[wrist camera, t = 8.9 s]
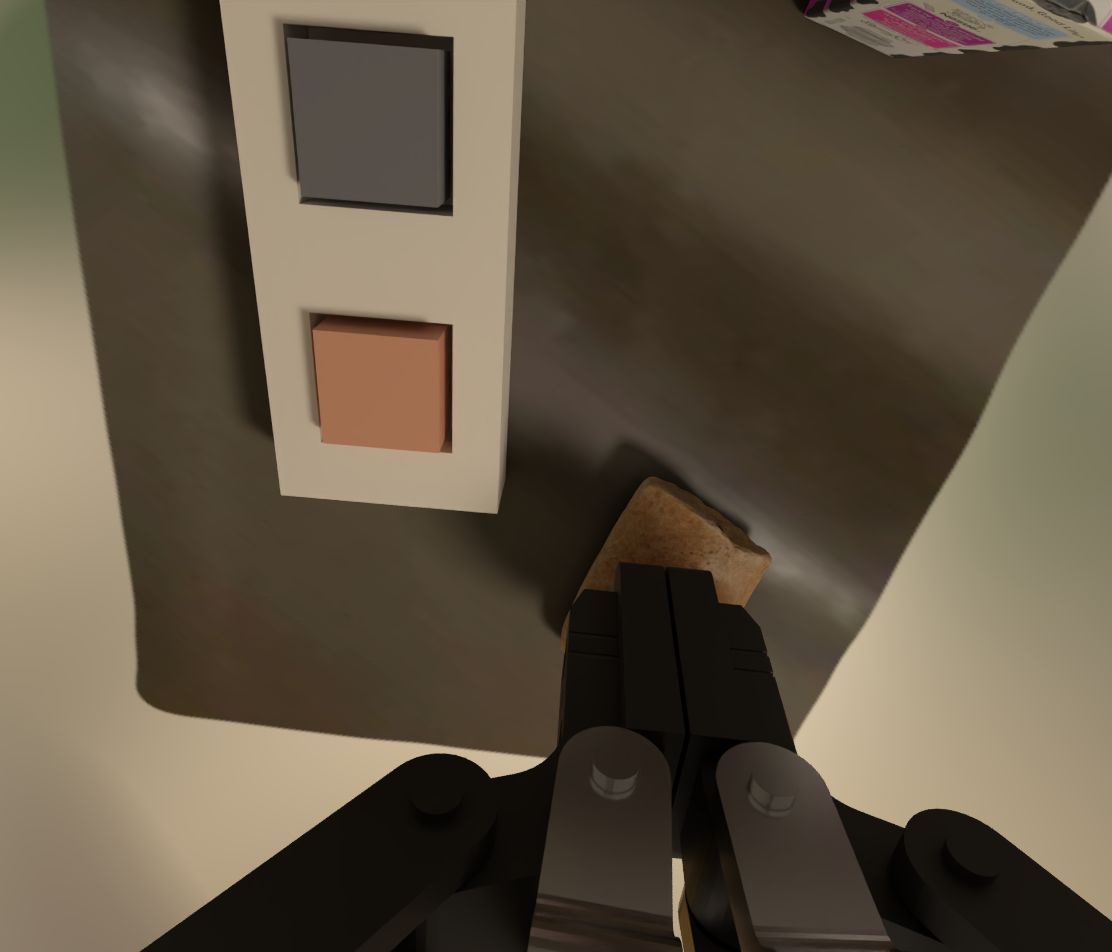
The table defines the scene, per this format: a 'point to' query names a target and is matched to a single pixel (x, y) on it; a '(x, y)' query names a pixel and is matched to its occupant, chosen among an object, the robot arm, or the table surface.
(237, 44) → the key console
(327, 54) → the charcoal key
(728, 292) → the table surface
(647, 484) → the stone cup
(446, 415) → the terracotta key
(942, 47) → the candy bar box
